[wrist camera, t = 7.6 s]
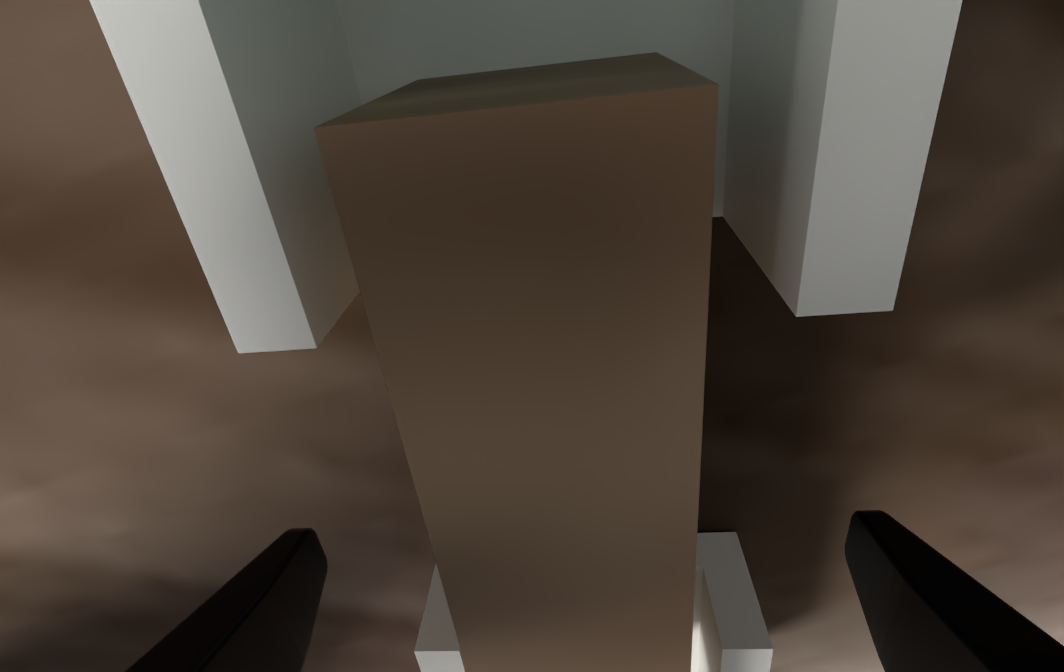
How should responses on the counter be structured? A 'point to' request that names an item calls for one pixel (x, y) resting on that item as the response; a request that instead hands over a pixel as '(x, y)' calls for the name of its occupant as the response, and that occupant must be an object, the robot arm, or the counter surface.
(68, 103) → the counter surface
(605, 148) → the rail
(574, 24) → the rail brackets
